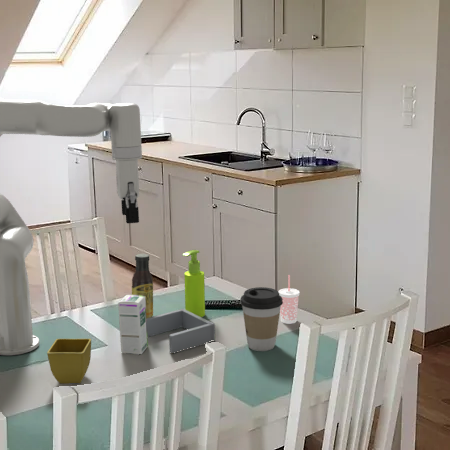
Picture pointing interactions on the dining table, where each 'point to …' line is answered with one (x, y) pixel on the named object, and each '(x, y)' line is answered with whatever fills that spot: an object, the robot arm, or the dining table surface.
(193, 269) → the soap dispenser
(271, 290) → the coffee cup
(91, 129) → the robot arm
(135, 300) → the syrup box
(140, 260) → the sauce bottle
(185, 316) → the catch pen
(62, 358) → the flower pot
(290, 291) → the beverage cup
